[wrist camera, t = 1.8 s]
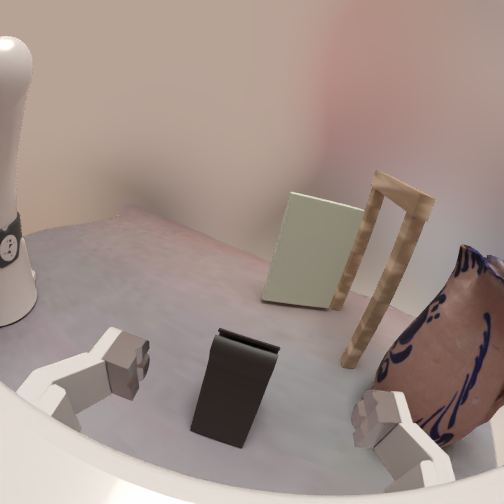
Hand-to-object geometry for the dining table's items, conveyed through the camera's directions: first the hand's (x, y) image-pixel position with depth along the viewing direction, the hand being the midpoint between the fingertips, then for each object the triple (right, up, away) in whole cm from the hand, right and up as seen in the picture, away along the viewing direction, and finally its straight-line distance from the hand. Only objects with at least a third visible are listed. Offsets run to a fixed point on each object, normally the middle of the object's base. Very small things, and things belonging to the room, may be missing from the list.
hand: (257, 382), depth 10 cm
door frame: (+16, -10, +40) cm, 44 cm away
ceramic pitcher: (+23, -20, +22) cm, 38 cm away
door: (+8, -5, +45) cm, 46 cm away
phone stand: (-3, -14, +21) cm, 26 cm away
